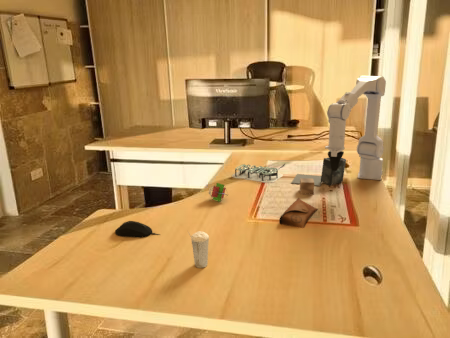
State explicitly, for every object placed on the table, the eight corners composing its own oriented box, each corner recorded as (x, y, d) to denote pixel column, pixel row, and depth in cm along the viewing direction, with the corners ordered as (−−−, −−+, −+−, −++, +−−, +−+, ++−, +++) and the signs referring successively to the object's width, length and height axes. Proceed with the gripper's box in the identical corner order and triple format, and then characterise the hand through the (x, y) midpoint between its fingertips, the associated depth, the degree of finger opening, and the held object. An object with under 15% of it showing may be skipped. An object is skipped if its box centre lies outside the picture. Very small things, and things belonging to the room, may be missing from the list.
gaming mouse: (156, 240, 114) (156, 228, 113) (111, 236, 117) (110, 224, 116) (164, 231, 120) (163, 219, 119) (121, 228, 123) (120, 216, 122)
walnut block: (312, 190, 152) (312, 178, 151) (313, 194, 148) (314, 182, 146) (299, 190, 153) (300, 178, 152) (300, 194, 148) (301, 182, 147)
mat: (324, 177, 168) (324, 176, 168) (319, 186, 156) (319, 185, 156) (297, 174, 172) (297, 173, 172) (291, 183, 161) (291, 182, 161)
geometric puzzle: (222, 189, 149) (212, 176, 144) (234, 193, 145) (225, 180, 140) (212, 203, 147) (202, 191, 142) (224, 207, 142) (214, 195, 137)
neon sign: (296, 159, 184) (271, 175, 160) (295, 167, 185) (271, 184, 161) (256, 154, 194) (228, 168, 170) (256, 162, 196) (228, 177, 171)
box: (330, 186, 157) (333, 162, 153) (320, 181, 161) (323, 158, 157) (343, 182, 161) (346, 158, 157) (332, 178, 165) (336, 155, 161)
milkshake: (189, 261, 101) (187, 227, 99) (209, 259, 102) (208, 226, 99) (189, 270, 97) (187, 235, 94) (210, 269, 97) (208, 233, 95)
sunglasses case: (304, 228, 119) (294, 209, 119) (285, 235, 122) (276, 217, 122) (318, 208, 134) (309, 191, 134) (301, 215, 138) (293, 198, 138)
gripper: (328, 131, 150) (326, 164, 154) (323, 138, 137) (321, 174, 141) (346, 132, 147) (344, 165, 151) (343, 140, 134) (341, 176, 138)
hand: (334, 170), depth 146 cm, fingers closed
